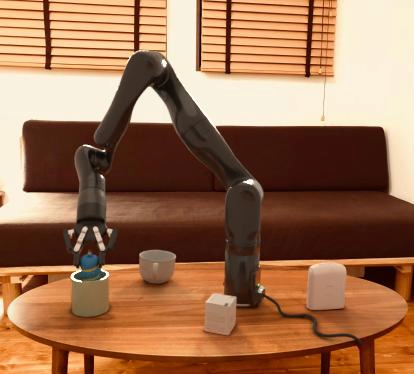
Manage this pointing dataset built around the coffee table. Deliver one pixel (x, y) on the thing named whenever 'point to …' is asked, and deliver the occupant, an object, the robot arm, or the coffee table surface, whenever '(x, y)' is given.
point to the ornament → (90, 267)
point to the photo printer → (326, 286)
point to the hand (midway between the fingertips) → (89, 266)
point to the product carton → (220, 314)
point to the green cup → (89, 295)
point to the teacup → (156, 265)
